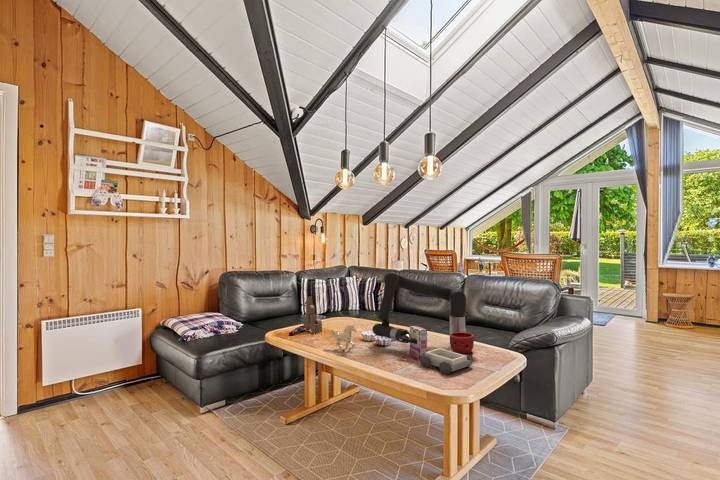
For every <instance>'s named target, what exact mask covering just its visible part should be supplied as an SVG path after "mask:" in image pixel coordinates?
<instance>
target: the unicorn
mask: <svg viewBox="0 0 720 480" xmlns="http://www.w3.org/2000/svg"><path fill="white" fill-rule="evenodd" d="M355 325H356V324H355V323H354V324H348V325H345V326H346V327H344V329H343V330H342V332H343V333H342V332H339V331H336V330H334V329H331V330H330V332H329V335H331V336H333V337H334V341H335V342H336V346H338V347H339V348H340V349H341V348H342V349H341V351H343V350H345V351H346V350H347V349H349V350H352V349H353V348H354V347H355V346H356V345H355V344H356V343H354V342H353V341H351V340H352V337H353V336H352V332H355V333H357V332H358V331H357V329H356V328H355ZM341 342H343V343H345V348H343V346H342V345H341ZM349 344H350V345H352V346H349Z"/></svg>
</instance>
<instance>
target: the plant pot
mask: <svg viewBox="0 0 720 480" xmlns="http://www.w3.org/2000/svg"><path fill="white" fill-rule="evenodd" d="M474 342H475V335H474V334H472V333H470V332H466V333H465V332H455V333H451V334H450V333H449V345H450V347H451V350H452V352H455V353H458V354H462V355H465V354H467V355H469V356H470V357H471V358H472V356H474V352H473V349H474Z"/></svg>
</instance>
